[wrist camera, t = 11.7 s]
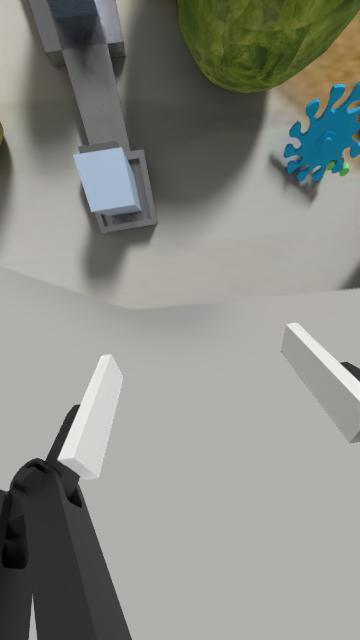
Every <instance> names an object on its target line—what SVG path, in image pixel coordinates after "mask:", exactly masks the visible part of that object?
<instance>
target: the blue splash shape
mask: <svg viewBox="0 0 360 640" xmlns="http://www.w3.org/2000/svg"><path fill="white" fill-rule="evenodd" d="M344 90H345V86H344V85H343V84H337V85H334V86H333V87H332V89H331V91H330V98H329V102H328V105H327V107H326V109H325V111H324V112H323V114H322V115H321V117H319V118H314V116H315V114H316V112H317V110H318V108H319V100H318V99H315V100H313V101H312V102H310V103H309V104H308V105H307V107H306V114H307V116H308V117H309V119H310V126H309V129H308V131H307V132H305V133H301V132H300V130H301V123H300V122H299V121H297V122H296V123H295V124H294V125H293V126H292V128H291V129H290V131H289V135H290V136H291V137H295V138H298V139H299V140H300V142H301V144H302V145H301V146H300V147H299V148H298V149H295V148H294V147H293V145H292V144H287V146H286V148H285V151H284V157H285V158H288V157H290V156H293V155H298V156H301V157H302V159H301V160H300V161H297V162H296V161H289V162H288V164H287V171H288V173H292V172H293V171H294V170H295V169H296V168H298V167H300V166H302V165H306V164H308V165H309V166H308V168H306V169H303V170H300V171H299V172H298V173H297V179H298V180H300V181H303V180H304V179H305V178H306V176H307V174H308V173H309V172H310V171H311V170H312V169H313V168H315V167H316V166H319V165H320V166H321V168H320V169H318V170H317V171H315V172H314V174H313V176H312V179H313V180H314V181H319V180H321V179H322V177H323V172H324V169H325V167H326V170H332V173H336V172H339V174H340V176H345V175H346V174H347V173H348V172H349V166H348V163H344V164H343V162H344V156H343V153H342V152H343V150H344V149H345V148H347V147H351V149H350V156H351V157H352V158H354V157H356V156H357V155H358V154H359V153H360V143H358V142H355V141H354V140H353V138H352V136H353V134H354V133H355V132H356V131H358V130H360V122H357V121H355V118H356V116H357V115H358V114H360V106H359V107H357V108H355V109H352V110H347V107H348V106H349V104H350V103H352V102H353V101H356V100H359V99H360V81H359V82H358V83H357V84H356V86H355V87H354V89H353V91H352V93H351V94H350V96H349V97H348V98H347V100H346V101H345V102H344V103H343V104H342V105H340V106H339V107H338V108H337V109H334V110H333V109H331V108H332V106H333V104H334V103H335V102H336V101H337V100H338V99H339V98H340V97H341V96H342V95H343V93H344Z"/></svg>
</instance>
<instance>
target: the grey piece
mask: <svg viewBox="0 0 360 640" xmlns="http://www.w3.org/2000/svg"><path fill="white" fill-rule="evenodd" d="M28 1H29V4H30V7H31V10H32V13H33V16H34V19H35V22H36V26H37V29H38V32H39V35H40V38H41V41H42V44H43V47H44V50H45V53H46V55H47V56H48V58H49V59H50V61H51V62H52V64H53V65H54V66H61V65H66V67H67V70H68V73H69V77H70V80H71V84H72V87H73V90H74V94H75V97H76V101H77V104H78V107H79V111H80V114H81V118H82V121H83V125H84V128H85V131H86V135H87V138H88V142H89V145H92V144H99V143H105V142H111V141H117V143H118V145H119V148H120V147H122V149H123V151H124V153H125V156H126V158H127V160H128V162H129V165H130V167H131V169H132V171H133V174H134V178H135V183H136V187H137V192H138V196H139V201H140V206H141V210H142V211H140V212H134V213H128V214H122V215H116V216H109V215H104V214H99V213H95V212H94V213H95V216H96V219H97V222H98V225H99V228H100V231H101V233H107V232H113V231H118V230H124V229H130V228H136V227H141V226H147V225H153V224H158V223H157V218H156V212H155V207H154V202H153V196H152V191H151V186H150V180H149V175H148V170H147V164H146V159H145V154H144V149H141V150H135V151H131V149H130V144H129V140H128V135H127V130H126V126H125V121H124V116H123V112H122V107H121V102H120V98H119V93H118V88H117V84H116V79H115V74H114V70H113V65H112V60H111V58H116V57H123V56H126V53H125V48H124V42H123V37H122V32H121V26H120V21H119V16H118V10H117V5H116V0H28Z"/></svg>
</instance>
